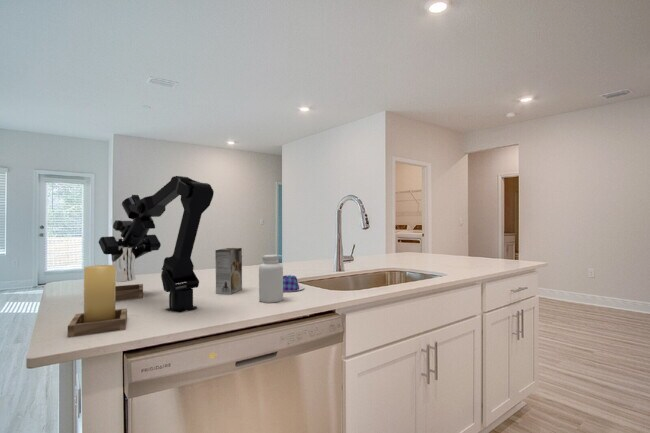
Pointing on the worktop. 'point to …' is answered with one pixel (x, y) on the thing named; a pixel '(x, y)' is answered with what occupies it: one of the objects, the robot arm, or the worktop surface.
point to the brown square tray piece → (97, 324)
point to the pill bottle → (270, 279)
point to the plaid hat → (291, 284)
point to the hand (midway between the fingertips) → (123, 259)
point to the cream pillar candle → (99, 293)
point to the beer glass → (125, 264)
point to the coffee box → (228, 270)
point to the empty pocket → (128, 292)
